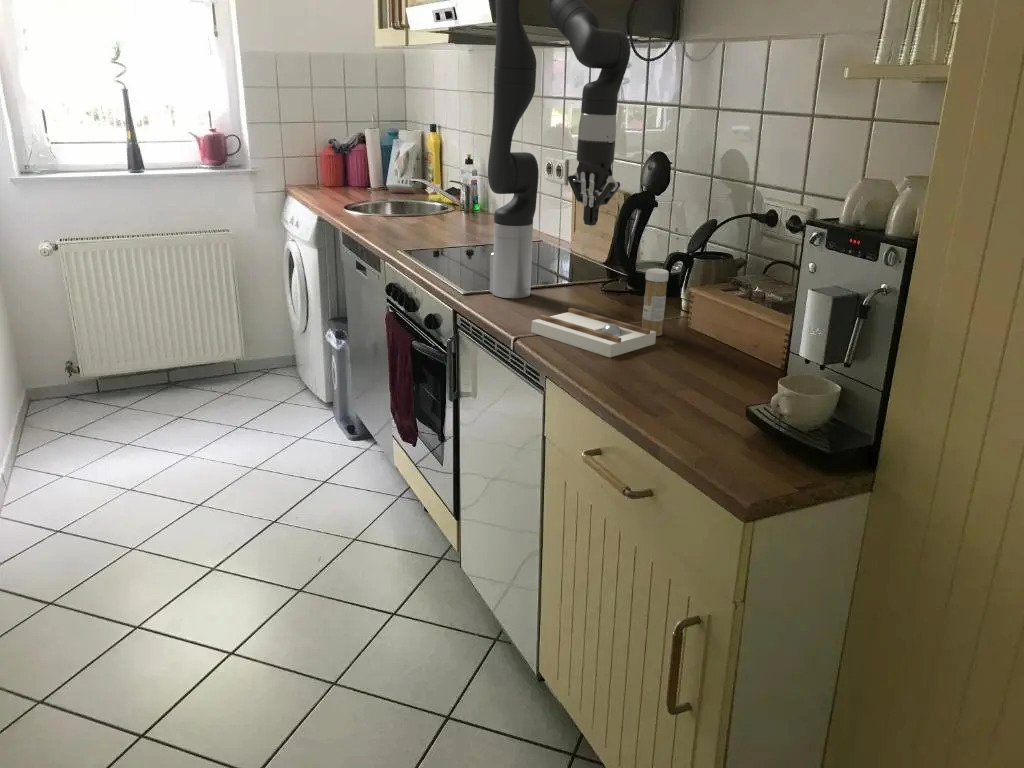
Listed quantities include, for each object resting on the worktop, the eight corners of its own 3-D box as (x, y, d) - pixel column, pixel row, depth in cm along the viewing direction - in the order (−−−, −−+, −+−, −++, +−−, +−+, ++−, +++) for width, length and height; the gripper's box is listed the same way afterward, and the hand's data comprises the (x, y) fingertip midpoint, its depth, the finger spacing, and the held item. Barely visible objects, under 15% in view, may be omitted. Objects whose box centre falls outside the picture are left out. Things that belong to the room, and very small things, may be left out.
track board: (531, 332, 167) (531, 316, 166) (576, 321, 176) (577, 306, 175) (609, 357, 153) (611, 340, 151) (655, 343, 162) (656, 328, 161)
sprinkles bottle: (638, 330, 170) (643, 267, 166) (659, 330, 171) (665, 267, 166) (643, 337, 166) (649, 272, 161) (665, 337, 166) (671, 272, 162)
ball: (603, 321, 158) (616, 335, 157) (616, 318, 161) (629, 332, 160) (594, 335, 161) (606, 349, 159) (606, 332, 164) (619, 346, 162)
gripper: (560, 135, 164) (554, 221, 170) (609, 141, 155) (601, 231, 161) (585, 134, 169) (579, 218, 175) (634, 140, 160) (626, 228, 166)
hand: (590, 224), depth 168 cm, fingers closed
